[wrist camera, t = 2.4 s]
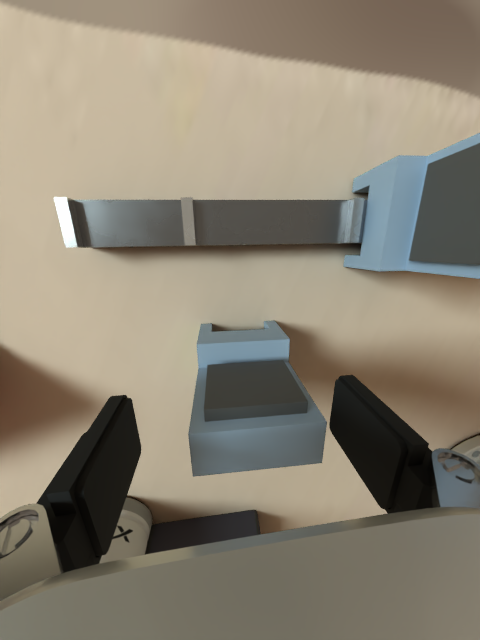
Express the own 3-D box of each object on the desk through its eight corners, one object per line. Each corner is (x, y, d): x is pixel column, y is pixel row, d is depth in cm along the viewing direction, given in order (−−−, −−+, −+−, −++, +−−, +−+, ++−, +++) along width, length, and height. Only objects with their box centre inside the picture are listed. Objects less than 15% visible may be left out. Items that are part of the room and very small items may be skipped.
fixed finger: (353, 178, 15) (544, 79, 6) (417, 179, 15) (680, 87, 7) (343, 266, 16) (482, 284, 8) (401, 265, 17) (593, 280, 8)
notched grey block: (274, 320, 17) (330, 389, 9) (273, 372, 19) (320, 475, 10) (201, 324, 17) (184, 400, 8) (204, 376, 18) (194, 489, 10)
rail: (426, 206, 16) (465, 198, 13) (419, 242, 17) (454, 240, 14) (82, 206, 14) (52, 197, 11) (90, 247, 15) (64, 247, 12)
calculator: (164, 658, 24) (134, 584, 19) (171, 597, 28) (149, 522, 23) (266, 638, 25) (265, 562, 20) (259, 582, 29) (256, 506, 24)
